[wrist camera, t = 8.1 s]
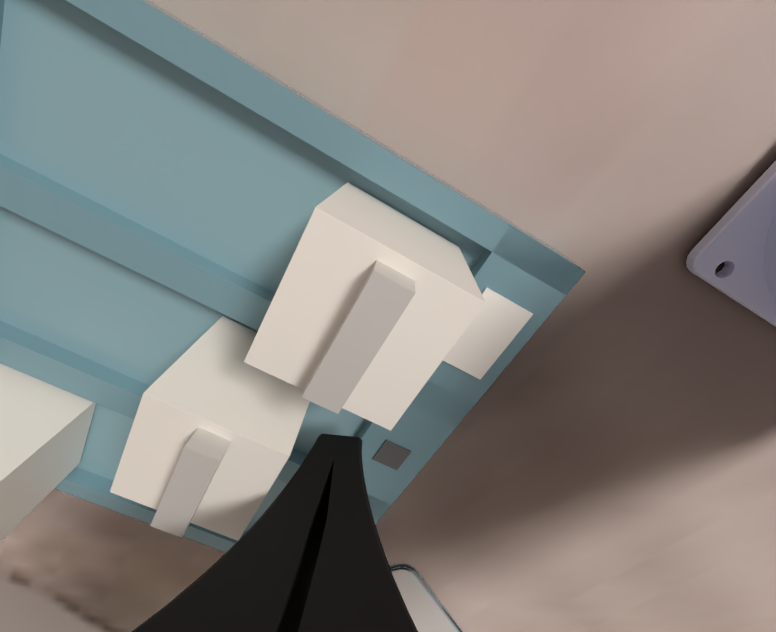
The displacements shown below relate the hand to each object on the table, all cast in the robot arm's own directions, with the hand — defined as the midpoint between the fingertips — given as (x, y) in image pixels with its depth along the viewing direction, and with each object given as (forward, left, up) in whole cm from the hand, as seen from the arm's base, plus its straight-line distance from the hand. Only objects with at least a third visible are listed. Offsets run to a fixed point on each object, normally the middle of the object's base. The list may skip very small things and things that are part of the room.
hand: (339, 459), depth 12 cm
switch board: (+6, 0, -3) cm, 7 cm away
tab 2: (+3, 0, -2) cm, 4 cm away
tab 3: (+2, -5, -2) cm, 6 cm away
